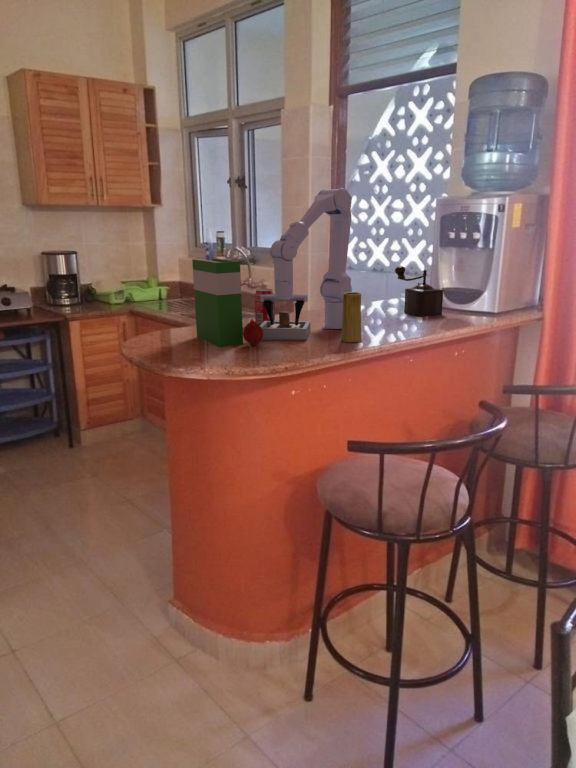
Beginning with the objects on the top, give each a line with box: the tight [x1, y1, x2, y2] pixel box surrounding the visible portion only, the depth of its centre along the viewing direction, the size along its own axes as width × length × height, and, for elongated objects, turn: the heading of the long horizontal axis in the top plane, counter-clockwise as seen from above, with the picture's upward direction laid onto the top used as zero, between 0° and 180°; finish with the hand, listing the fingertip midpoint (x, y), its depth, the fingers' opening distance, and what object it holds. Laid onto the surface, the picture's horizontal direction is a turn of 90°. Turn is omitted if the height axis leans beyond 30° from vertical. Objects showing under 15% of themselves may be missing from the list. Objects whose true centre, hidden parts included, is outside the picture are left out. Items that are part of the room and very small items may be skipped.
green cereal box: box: [191, 257, 244, 348], centre depth 169 cm, size 18×7×24 cm, turn 31°
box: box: [260, 320, 311, 342], centre depth 177 cm, size 15×13×4 cm
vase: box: [340, 291, 363, 343], centre depth 167 cm, size 6×6×14 cm
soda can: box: [253, 288, 276, 325], centre depth 197 cm, size 7×7×12 cm
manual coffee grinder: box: [394, 265, 444, 318], centre depth 211 cm, size 16×11×18 cm
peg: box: [278, 311, 291, 328], centre depth 176 cm, size 3×3×7 cm
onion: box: [243, 318, 263, 347], centre depth 163 cm, size 6×6×8 cm
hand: (284, 324), depth 176 cm, fingers open, 7 cm apart
